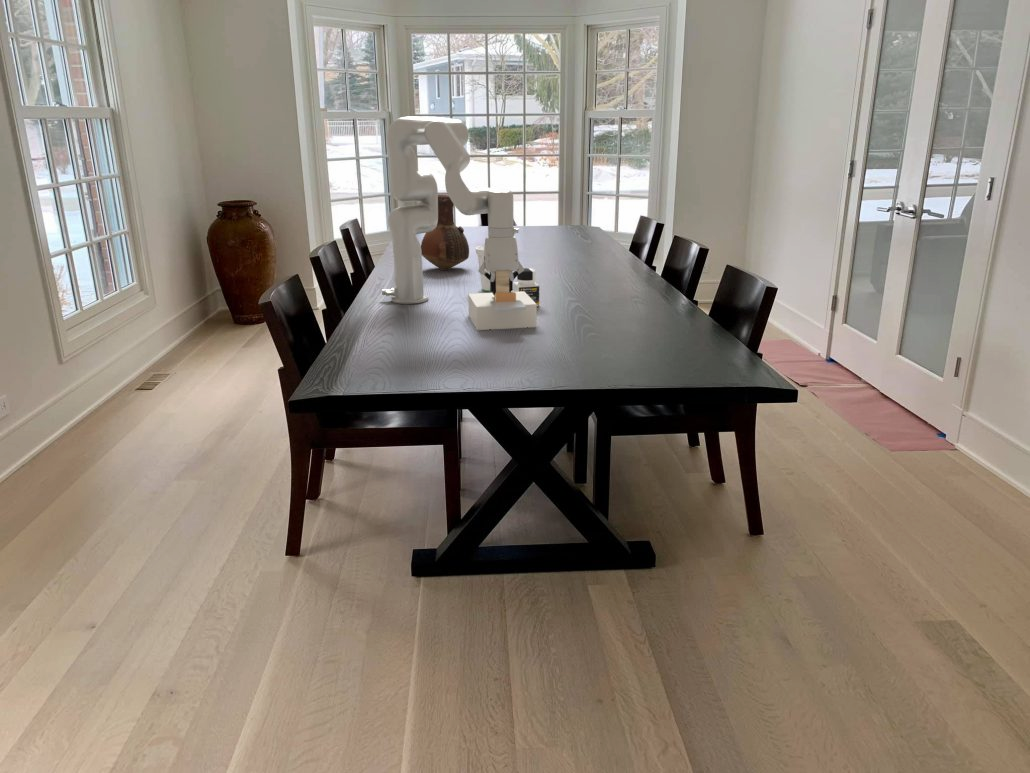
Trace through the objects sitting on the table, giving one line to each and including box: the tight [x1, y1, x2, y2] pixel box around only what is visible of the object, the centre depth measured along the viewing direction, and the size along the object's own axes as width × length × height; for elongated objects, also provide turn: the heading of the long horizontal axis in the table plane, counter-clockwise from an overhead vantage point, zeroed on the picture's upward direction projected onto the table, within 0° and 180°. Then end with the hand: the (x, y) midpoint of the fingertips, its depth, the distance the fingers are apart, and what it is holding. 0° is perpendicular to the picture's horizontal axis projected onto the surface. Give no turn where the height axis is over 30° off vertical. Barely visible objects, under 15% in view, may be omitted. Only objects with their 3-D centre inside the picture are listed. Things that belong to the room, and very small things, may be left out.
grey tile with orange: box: [490, 291, 526, 311], centre depth 219 cm, size 9×9×3 cm
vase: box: [420, 194, 470, 271], centre depth 306 cm, size 25×20×30 cm
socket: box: [467, 291, 538, 331], centre depth 231 cm, size 18×18×7 cm
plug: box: [494, 270, 509, 301], centre depth 228 cm, size 4×4×14 cm
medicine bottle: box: [512, 267, 540, 306], centre depth 250 cm, size 7×7×12 cm
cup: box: [475, 245, 492, 293], centre depth 272 cm, size 12×12×15 cm
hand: (501, 293), depth 229 cm, fingers closed on plug, 4 cm apart
